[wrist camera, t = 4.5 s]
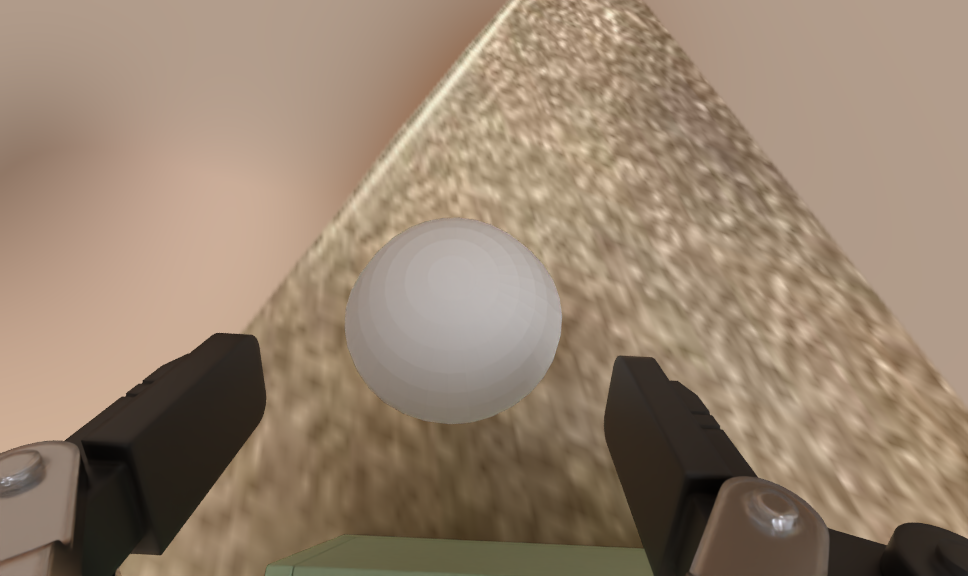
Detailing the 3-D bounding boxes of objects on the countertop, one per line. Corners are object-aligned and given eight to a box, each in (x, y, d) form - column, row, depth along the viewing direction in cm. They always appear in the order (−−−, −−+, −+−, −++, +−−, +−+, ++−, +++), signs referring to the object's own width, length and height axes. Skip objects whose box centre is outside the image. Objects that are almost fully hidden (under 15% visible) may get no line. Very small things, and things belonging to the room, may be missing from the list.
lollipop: (407, 463, 23) (319, 428, 9) (397, 351, 25) (314, 188, 11) (527, 442, 23) (614, 380, 10) (506, 335, 26) (553, 161, 12)
